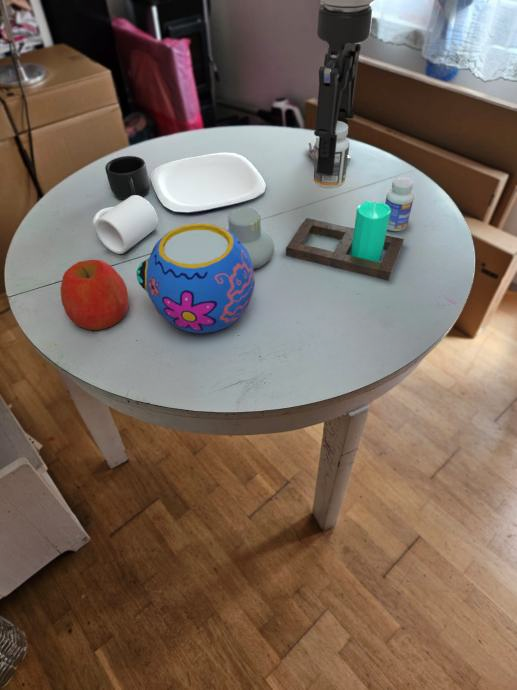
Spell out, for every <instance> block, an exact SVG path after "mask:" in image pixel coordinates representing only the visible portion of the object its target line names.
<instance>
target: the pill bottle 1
mask: <svg viewBox="0 0 517 690" xmlns="http://www.w3.org/2000/svg"><path fill="white" fill-rule="evenodd" d="M335 135H337V141H336V151H335V161H334V171H333V174H332V175H328V174H323V173H317V164H318V150H319V138H318V139H317V141H316V140H315V143H316V144H315V143H314V145H315V159H314V160H313V179H312V180H313V182H314V184H316V186H318V187H320V188H323V189H337V188H339V187H342V185H344V184H345V182H346V176H347V167H348V163H347V161H348V156H349V151H350V141H349V139H348V138H347V137H346V136H348V135H349V124H348V125H347V124H346V123H344V122H341V121H337V126H336V134H335Z"/></svg>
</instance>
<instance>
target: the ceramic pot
mask: <svg viewBox="0 0 517 690" xmlns="http://www.w3.org/2000/svg"><path fill="white" fill-rule="evenodd" d="M228 230H229V229H225V228H224V227H221V226H218V225H216V224H210V223H191V224H185V225H181V226H179V227H176V228H173V229H172V230H170V231H168V232H167V233H165V234H164V235H163V236H162V237H161V238H160V239H159V240H158V241H157V242H156V243H155V244H154V246H153V248H152V251H151V252H150V254H149V257H148V258H147V259H145V260H143V261H142V262H140V264H139V265H138V267H137V269H136V280H137V282H138V284H139V286H141V288H142V289H143V290H144V291H146V293H147V295H148V297H149V299H150V300H151V303H152V304H153V306H154V309H155V310H156V312H158V314H159V315H160V316H161V317H162V318H164V319H165V320H166V321H168V322H169V323H171V325H173V326H174V327H176V328H177V329H179V330H181V331H185V332H187V333H193V334H194V333H195V334H205V333H207V334H208V333H213V332H217V331H220V330H222V329H225V328H228V327H229V326H231V325H232V324H234V323H235V322H236V321H237V320H239V318H241V316H242V315H243V313H245V311H246V309H247V308H248V306H249V304H250V302H251V299H252V297H253V294H254V290H255V286H256V285H255V283H256V280H255V279H256V278H255V272H254V269H253V265H252V261H251V258H250V255H249V253H248V251H247V250H246V248H245V247H244V246H243V244H242V243H241V242H240V241H239V239H238V238H237V237H236V236H235V235H234V234H232V233H231V232H229V231H228Z"/></svg>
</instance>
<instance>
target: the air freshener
mask: <svg viewBox="0 0 517 690" xmlns="http://www.w3.org/2000/svg"><path fill="white" fill-rule="evenodd" d="M227 218H228V229H227V230H228V231H229V232H231V233H232V234H234V235H235V236H236V237H237V238H238V239H239V241H240V242H241V243H242V244H243V246H244V247H245V248H246V250H247V251H248V253H249V255H250V258H251V261H252V265H253V270H255V269H258V268H261V267H262V266H265V264H267V263H268V262H269V260H271V258H272V257H273V255H274V251H275V243H274V239H273V237H272V236H271V234H270V233H268V232H267V230H264V229H263V228H262V227H261V226H262V225H261V223H262V222H261V214H260V212H258V210H256V209H254V208H252V207H239V208H236V209H234V210H232V211H231V212H230V213H229V214H228V217H227Z"/></svg>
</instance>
